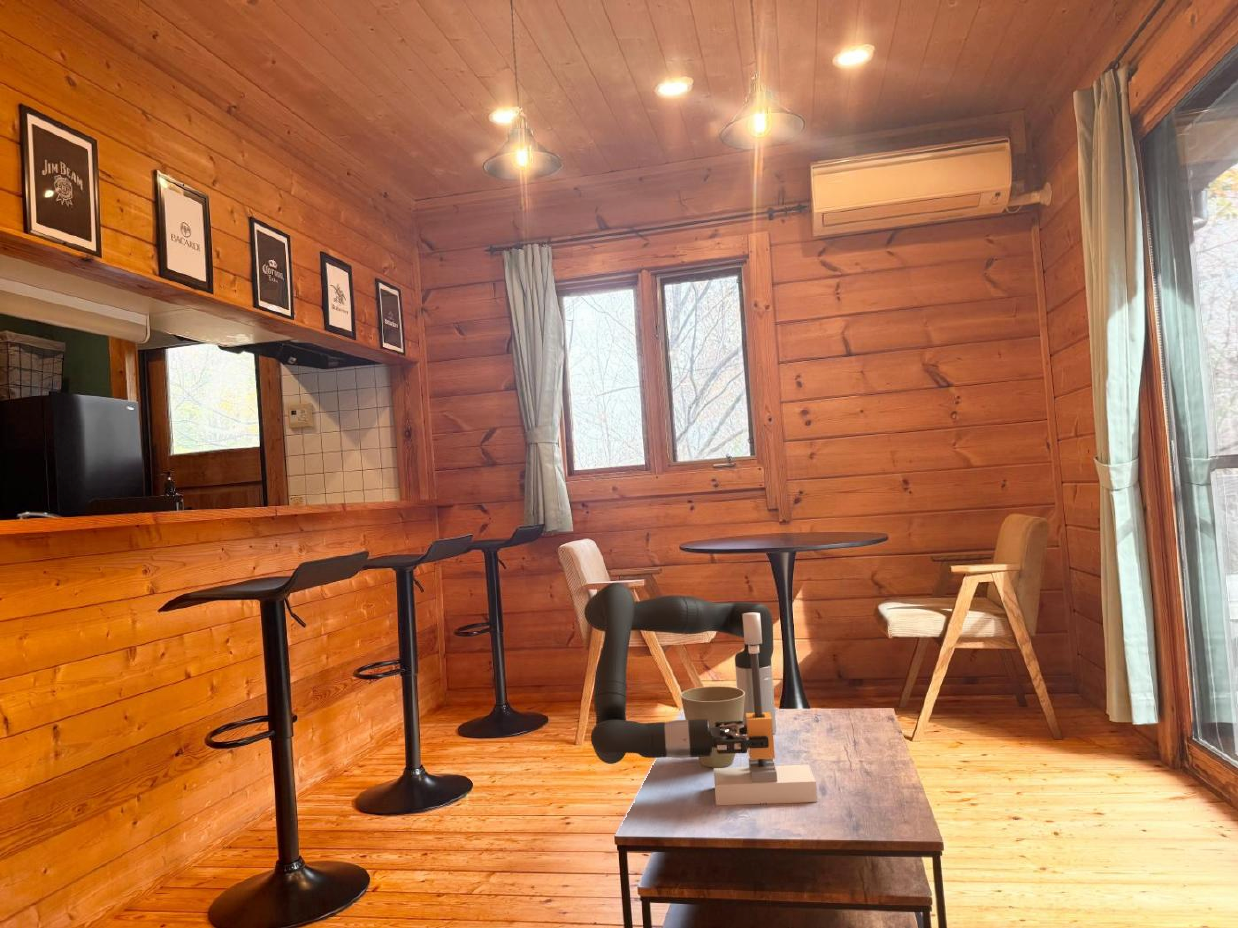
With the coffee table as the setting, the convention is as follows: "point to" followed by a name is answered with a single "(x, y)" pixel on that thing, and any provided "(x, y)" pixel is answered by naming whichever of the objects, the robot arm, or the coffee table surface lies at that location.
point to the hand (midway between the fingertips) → (766, 735)
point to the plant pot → (714, 713)
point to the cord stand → (762, 775)
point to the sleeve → (761, 729)
